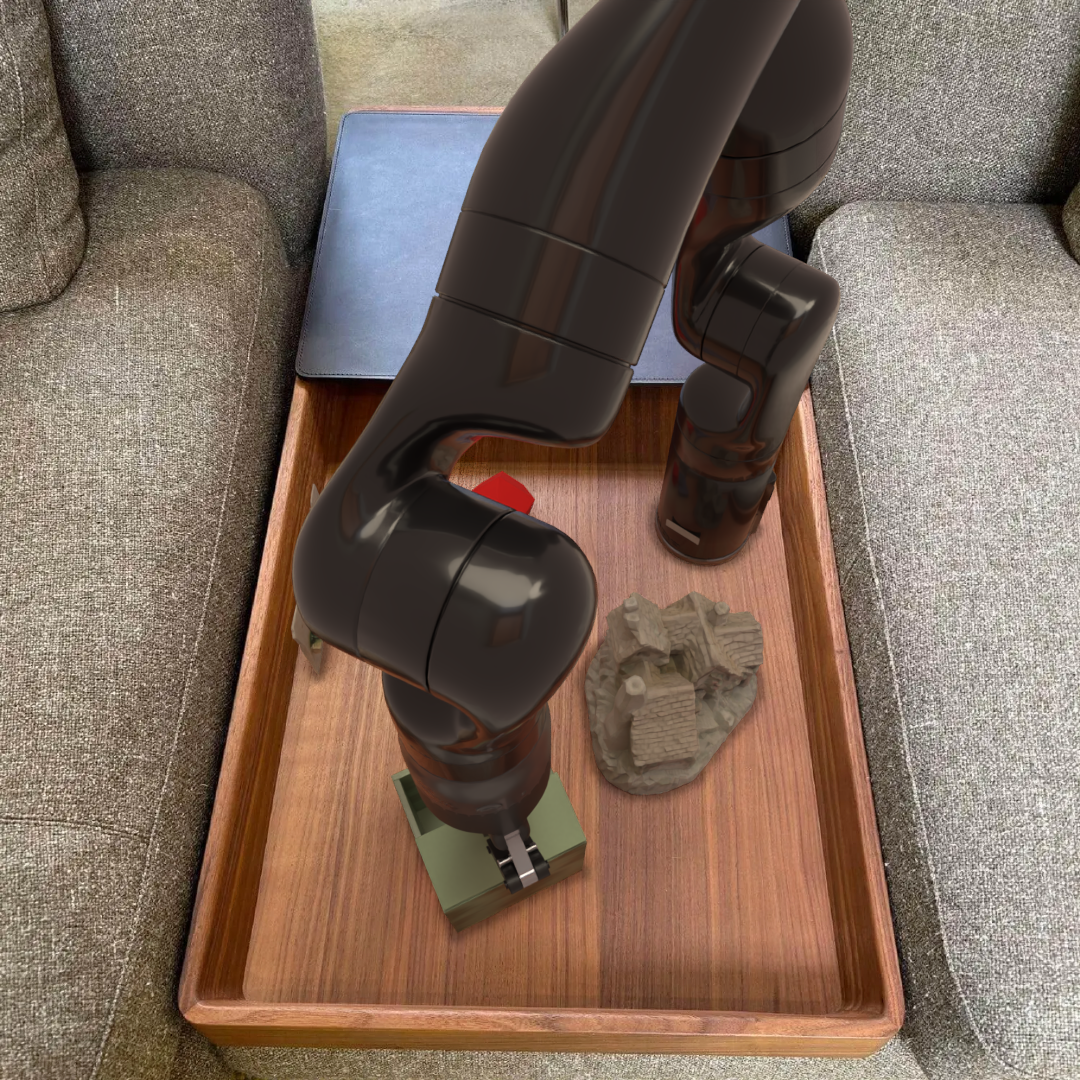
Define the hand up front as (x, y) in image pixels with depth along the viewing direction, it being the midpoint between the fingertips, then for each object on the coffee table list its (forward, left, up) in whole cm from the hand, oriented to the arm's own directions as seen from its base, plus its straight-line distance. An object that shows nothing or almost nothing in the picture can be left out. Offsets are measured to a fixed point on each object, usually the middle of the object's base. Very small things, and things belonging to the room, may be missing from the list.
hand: (494, 820), depth 60 cm
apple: (-13, -30, -15) cm, 36 cm away
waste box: (0, -2, -14) cm, 15 cm away
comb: (+6, -29, -15) cm, 33 cm away
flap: (0, +1, -3) cm, 3 cm away
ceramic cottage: (-19, -6, -15) cm, 25 cm away
